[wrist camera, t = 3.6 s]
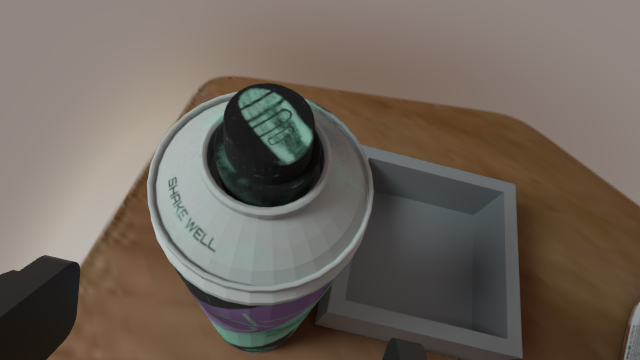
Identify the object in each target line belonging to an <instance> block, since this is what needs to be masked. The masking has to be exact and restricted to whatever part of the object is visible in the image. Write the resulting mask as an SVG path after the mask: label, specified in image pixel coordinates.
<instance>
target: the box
mask: <svg viewBox="0 0 640 360" xmlns="http://www.w3.org/2000/svg"><path fill="white" fill-rule="evenodd" d="M361 147H362V148H363V150H364V152H365V154H366V156H367V159H368V162H369V165H370V169H371V172H372V179H373V188H374V194H373V204H372V211H371V214H370V217H369V220H368V224H367V227H366V230H365V233H364V236H363V239H362V242H361V244H360V245H359V247H358V249H357V250H356V252H355V254H354V255H353V257H352V259H351V260H350V262H349V263H348V264H347V265H346V267H345V268H344V269H343V270H342V272H341V273H340V274H339V276H338V277H337V278H336V279H335V281H334V282H333V283H332V284H331V286H330V287H329V288H328V289H327V291H326V292H325V293H324V294H323V296H322V297H321V298H320V300H319V302H318V307H317V312H316V317H315V322H314V325H319V326H323V327H327V328H331V329H335V330H340V331H344V332H348V333H352V334H356V335H361V336H365V337H369V338H373V339H377V340H382V341H386V342H389V341H390V339H391V338H397V339H402V340H406V341H410V342H414V343H419V344H421V345H422V346H423V348H424V351H428V352H432V353H436V354H440V355H445V356H449V357H453V358H457V359H461V360H512V359H523V355H522V331H521V307H520V283H519V259H518V235H517V211H516V187H515V184H512V183H508V182H504V181H500V180H496V179H493V178H489V177H485V176H481V175H477V174H473V173H469V172H465V171H461V170H458V169H454V168H450V167H446V166H442V165H438V164H434V163H430V162H426V161H423V160H419V159H415V158H411V157H407V156H403V155H399V154H395V153H391V152H388V151H384V150H380V149H376V148H372V147H368V146H364V145H361Z"/></svg>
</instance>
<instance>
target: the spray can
mask: <svg viewBox="0 0 640 360" xmlns="http://www.w3.org/2000/svg"><path fill="white" fill-rule="evenodd" d="M147 192H148V206H149V209H150V213H151V220H152V223H153V227H154V230H155V234H156V237H157V240H158V242H159V243H160V245H161V247H162V249H163V251H164V252H165V254H166V256H167V258H168V259H169V261H170V262H171V264H172V265H173V267H174V268H175V270H176V271H177V273H178V274H179V275H180V277H181V278H182V280H183V281H184V283H185V284H186V286H187V287H188V289H189V290H190V292H191V293H192V294H193V296H194V297H195V299H196V300H197V302H198V303H199V305H200V306H201V308H202V309H203V311H204V312H205V314H206V315H207V316H208V318H209V319H210V321H211V322H212V324H213V325H214V327H215V328H216V330H217V331H218V333H219V334H220V336H221V337H222V338H223V339H224V340H225V341H226V342H227V343H228V344H230V345H231V346H233V347H234V348H236V349H239V350H241V351H244V352H250V353H261V352H265V351H270V350H272V349H274V348H276V347H278V346H280V345H281V344H282V343H284V342H285V341H286V340H287V339H288V338H289V337H290V336H291V335H292V334H293V332H294V331H295V330H296V329H297V327H298V326H299V325H300V324H301V322H302V321H303V320H304V319H305V317H306V316H307V315H308V313H309V312H310V311H311V310H312V308H313V307H314V306H315V305H316V303H317V302H318V301H319V300H320V298H321V297H322V296H323V294H324V293H325V292H326V291H327V289H328V288H329V287H330V286H331V284H332V283H333V282H334V281H335V279H336V278H337V277H338V276H339V274H340V273H341V272H342V270H343V269H344V268H345V267H346V265H347V264H348V263H349V262H350V260H351V259H352V257H353V255H354V254H355V252H356V250H357V249H358V247H359V245H360V244H361V242H362V239H363V236H364V233H365V230H366V227H367V224H368V220H369V217H370V214H371V211H372V204H373V194H374V188H373V179H372V172H371V169H370V165H369V162H368V159H367V156H366V154H365V152H364V150H363V148H362V147H361V145H360V143H359V141H358V139H357V138H356V137H355V136H354V134H353V133H352V132H351V131H350V130H349V128H348V127H347V126H346V125H345V124H344V123H343V122H342V121H341V120H339V119H338V118H337V117H336V116H335V115H334V114H332V113H331V112H330V111H328V110H326V109H325V108H323V107H321V106H320V105H318V104H316V103H315V102H312V101H310V100H307V99H304V98H303V97H302V96H300V95H299V94H298V93H296V92H295V91H293V90H291V89H289V88H286V87H284V86H281V85H277V84H270V83H266V84H256V85H251V86H248V87H246V88H244V89H242V90H240V91H239V92H235V93H231V94H227V95H223V96H219V97H217V98H214V99H212V100H210V101H207V102H205V103H203V104H201V105H199V106H198V107H196V108H195V109H193V110H191V111H190V112H188V113H187V114H185V115H184V116H183V117H182V118H181V119H180V120H179V121H178V122H177V123H176V124H175V125H174V126H172V127H171V128H170V130H169V131H168V132H167V134H166V135H165V137H164V138H163V140H162V141H161V142H160V144H159V145H158V148H157V150H156V152H155V155H154V157H153V160H152V162H151V165H150V170H149V176H148V181H147Z"/></svg>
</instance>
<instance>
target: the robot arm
mask: <svg viewBox="0 0 640 360" xmlns="http://www.w3.org/2000/svg"><path fill="white" fill-rule="evenodd" d="M79 279H80V266H79V264H78V263H77V262H73V261H68V260H64V259H60V258H56V257H51V256H47V255H44V256H41V257H39V258H38V259H36V260H35V261H33V262H32V263H30V264H29V265H27V266H26V267H24V268H23V269H21V270H20V271H15V270H12V271H9V272H6V273H3V274H1V275H0V360H46V359H47V358H48V357H49V356H50V355H51V354H52V353H53V352H54V351H55V350H56V349H57V348H58V347H59V346H60V345H61V344H62V343H63V341H64V340H65V339H66V338H67V336H68V335H69V333H70V331H71V330H72V328H73V325H74V323H75V320H76V315H77V304H78V292H79ZM382 360H427V357H426V354H425V351H424V348H423V346H422V345H421V344H419V343H414V342H410V341H406V340H402V339H397V338H391V339H390V341H389V343H388V345H387V348H386V351H385V354H384V356H383V359H382Z"/></svg>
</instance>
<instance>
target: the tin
mask: <svg viewBox="0 0 640 360" xmlns="http://www.w3.org/2000/svg"><path fill="white" fill-rule="evenodd" d="M619 360H640V297H639V298H638V300H637V301H636V303H635V304H634V306H633V308H632V310H631V313H630V315H629V318H628V322H627V326H626V331H625V335H624V340H623V345H622V349H621V354H620V359H619Z"/></svg>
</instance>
